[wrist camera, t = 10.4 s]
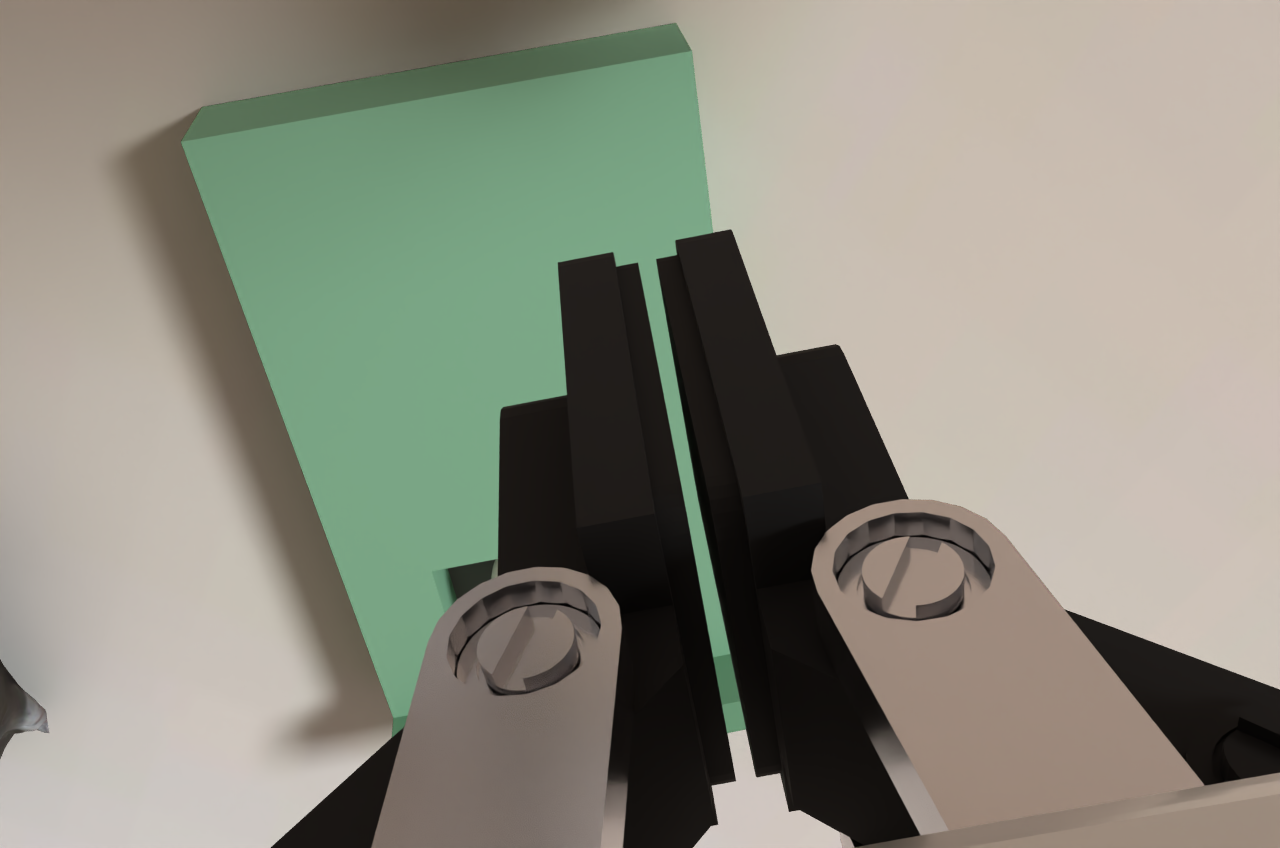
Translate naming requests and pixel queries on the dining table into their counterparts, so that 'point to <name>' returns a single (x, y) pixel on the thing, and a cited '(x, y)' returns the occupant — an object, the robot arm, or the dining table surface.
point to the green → (447, 291)
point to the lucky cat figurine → (17, 710)
